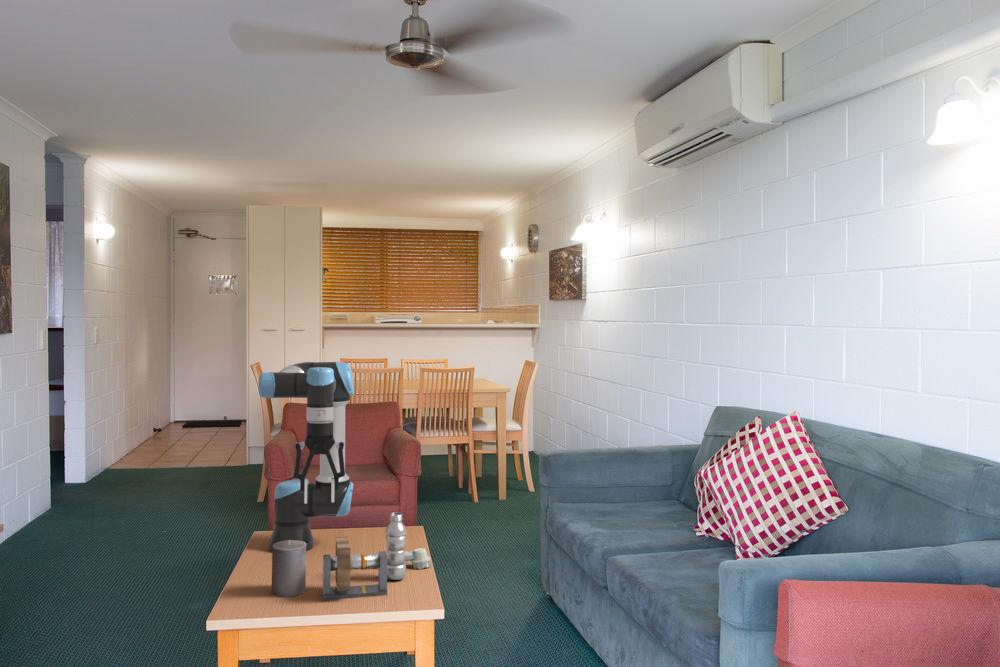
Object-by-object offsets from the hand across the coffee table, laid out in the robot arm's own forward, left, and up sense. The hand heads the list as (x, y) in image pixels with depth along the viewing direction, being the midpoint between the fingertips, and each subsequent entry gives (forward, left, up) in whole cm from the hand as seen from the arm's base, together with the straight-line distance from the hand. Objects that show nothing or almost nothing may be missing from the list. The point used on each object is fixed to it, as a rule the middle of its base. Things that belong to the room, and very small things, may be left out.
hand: (319, 501), depth 223 cm
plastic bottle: (-10, +23, -27) cm, 37 cm away
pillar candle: (-6, -8, -27) cm, 29 cm away
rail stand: (0, +10, -27) cm, 29 cm away
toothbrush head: (-22, +23, -28) cm, 42 cm away
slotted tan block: (0, +7, -24) cm, 25 cm away
